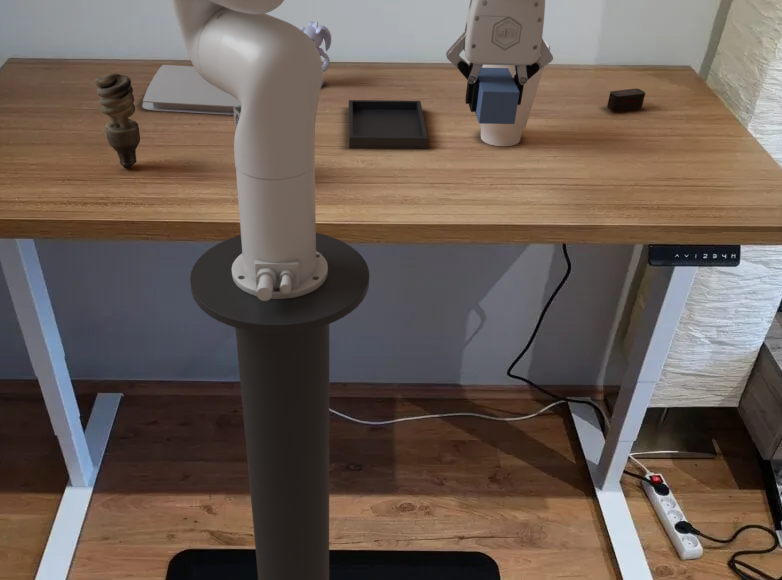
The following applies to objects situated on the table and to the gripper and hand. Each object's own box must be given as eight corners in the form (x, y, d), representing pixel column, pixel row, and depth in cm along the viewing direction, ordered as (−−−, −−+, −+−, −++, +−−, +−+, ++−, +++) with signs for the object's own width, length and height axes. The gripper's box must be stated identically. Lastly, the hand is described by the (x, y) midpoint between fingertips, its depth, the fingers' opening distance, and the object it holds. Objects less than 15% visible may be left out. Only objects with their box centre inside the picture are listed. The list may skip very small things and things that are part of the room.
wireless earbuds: (646, 109, 152) (650, 92, 150) (613, 114, 150) (617, 96, 148) (632, 101, 155) (636, 84, 153) (599, 105, 154) (603, 88, 152)
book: (161, 81, 162) (159, 61, 160) (273, 87, 160) (272, 67, 158) (137, 109, 151) (134, 88, 148) (257, 116, 148) (256, 95, 146)
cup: (487, 156, 135) (500, 59, 125) (454, 130, 144) (464, 37, 134) (547, 146, 139) (565, 50, 129) (511, 121, 147) (525, 29, 137)
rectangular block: (514, 124, 112) (519, 92, 109) (478, 123, 112) (483, 91, 109) (503, 98, 120) (508, 68, 117) (470, 98, 120) (473, 67, 117)
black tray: (427, 148, 138) (427, 138, 137) (349, 148, 138) (349, 137, 137) (419, 110, 151) (420, 100, 150) (348, 109, 151) (348, 99, 150)
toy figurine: (289, 83, 162) (287, 20, 154) (314, 76, 165) (313, 14, 157) (309, 92, 158) (308, 28, 150) (335, 86, 161) (335, 22, 153)
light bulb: (103, 170, 131) (85, 76, 121) (124, 157, 134) (108, 65, 125) (131, 177, 129) (116, 82, 119) (152, 163, 133) (138, 71, 123)
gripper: (448, -24, 101) (435, 117, 113) (583, -22, 101) (556, 120, 113) (443, -38, 107) (430, 98, 119) (570, -35, 107) (545, 101, 119)
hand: (492, 107), depth 116 cm, fingers closed on rectangular block, 5 cm apart
